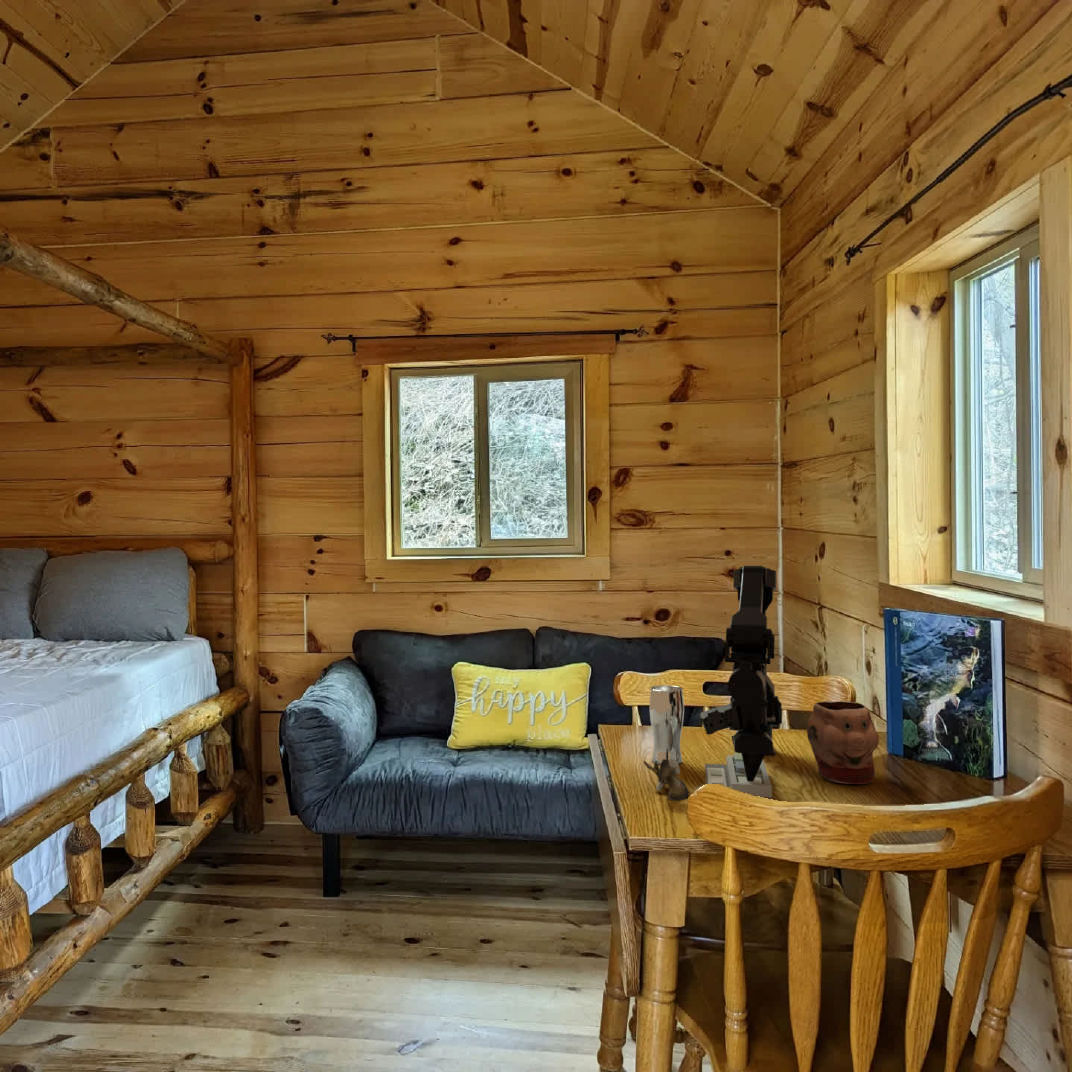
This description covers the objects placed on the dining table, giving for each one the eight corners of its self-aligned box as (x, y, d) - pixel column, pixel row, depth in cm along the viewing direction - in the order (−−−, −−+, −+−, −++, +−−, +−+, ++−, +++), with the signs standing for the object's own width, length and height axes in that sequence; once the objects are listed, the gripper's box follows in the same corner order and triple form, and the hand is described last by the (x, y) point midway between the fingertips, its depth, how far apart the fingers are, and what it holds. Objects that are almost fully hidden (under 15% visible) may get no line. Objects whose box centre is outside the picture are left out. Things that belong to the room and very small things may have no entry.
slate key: (735, 769, 144) (735, 761, 144) (757, 770, 143) (757, 762, 143) (737, 776, 140) (737, 767, 140) (760, 777, 139) (759, 768, 139)
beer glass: (669, 768, 153) (668, 692, 153) (642, 760, 158) (642, 687, 158) (691, 761, 157) (690, 688, 158) (665, 754, 163) (664, 683, 163)
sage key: (734, 761, 150) (734, 753, 150) (755, 762, 149) (755, 754, 149) (735, 767, 146) (735, 758, 146) (757, 768, 145) (757, 759, 145)
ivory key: (737, 785, 139) (737, 776, 139) (760, 786, 138) (760, 777, 138) (739, 792, 135) (739, 783, 135) (762, 793, 134) (762, 784, 134)
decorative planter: (789, 761, 157) (789, 693, 157) (848, 759, 158) (847, 692, 158) (833, 793, 137) (832, 715, 137) (899, 791, 138) (899, 714, 138)
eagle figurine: (633, 780, 142) (649, 786, 133) (650, 746, 144) (668, 749, 135) (667, 801, 142) (686, 809, 134) (684, 766, 144) (704, 772, 136)
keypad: (705, 768, 153) (704, 753, 153) (762, 771, 150) (762, 756, 150) (707, 801, 134) (707, 783, 134) (773, 804, 132) (772, 787, 132)
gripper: (701, 681, 147) (702, 763, 147) (703, 702, 129) (704, 795, 129) (762, 683, 145) (763, 766, 145) (773, 704, 127) (773, 799, 127)
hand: (750, 780), depth 136 cm, fingers closed, pressing on ivory key
